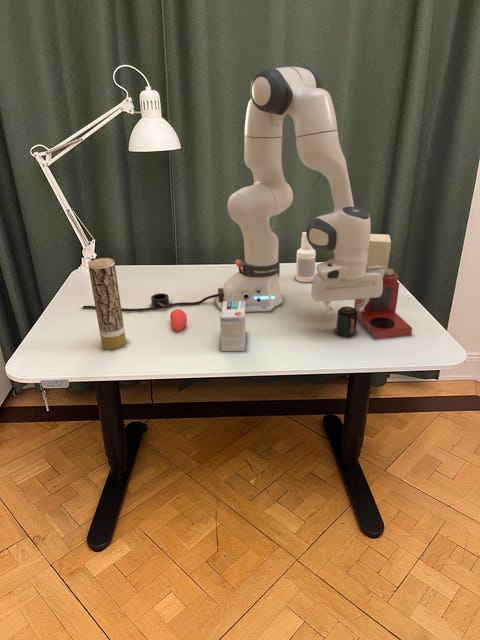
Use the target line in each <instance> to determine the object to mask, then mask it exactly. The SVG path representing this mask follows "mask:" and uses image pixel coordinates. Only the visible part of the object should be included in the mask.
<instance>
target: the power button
mask: <svg viewBox="0 0 480 640" xmlns="http://www.w3.org/2000/svg"><path fill="white" fill-rule="evenodd" d="M393 272H394V273H395V271H394V269H392V268H388V269H384V276H385V277H392V276H393Z"/></svg>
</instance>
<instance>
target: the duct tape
mask: <svg viewBox="0 0 480 640" xmlns="http://www.w3.org/2000/svg"><path fill="white" fill-rule="evenodd" d="M150 301H151V307H158V306H163V307H166V308H170V307H169V306H168V305H167V304H170V296H169V294H167V293H162V292H161V293H155V294H153V295H151V296H150Z"/></svg>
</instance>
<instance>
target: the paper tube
mask: <svg viewBox="0 0 480 640" xmlns="http://www.w3.org/2000/svg"><path fill="white" fill-rule="evenodd" d="M87 266H88V267H87V268H88V272H89V278H90V283H91V290H92V296H93V301H94V306H95V308H96V309H95V313H96V319H97V324H98V329H99V335H100V341H101V346H102V347H103V348H104V349H107V350H118V349H120V348H122V347H123V346H124V345H125V344H126V343H127V339H126V331H125V324H124V317H123V311H122V310H121V308H122V304H121V296H120V289H119V284H118V283H119V282H118V277H117V269H116V263H115V259H113V258H110V257H101V258H95V259H92V260H90V261H88V263H87Z"/></svg>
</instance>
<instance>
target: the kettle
mask: <svg viewBox="0 0 480 640" xmlns="http://www.w3.org/2000/svg"><path fill="white" fill-rule="evenodd" d="M357 313H358V312H357V311H356V309H355V308H354V307H352V306H342V307H340V308H339V309H337V314H336V316H337V317H336V329H335V333H336V335H337V336H339V337H341V338H353V337H354V336H356V334H357V333H356V332H357V331H356V330H357V324H358V323H357V322H358V319H357Z"/></svg>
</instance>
